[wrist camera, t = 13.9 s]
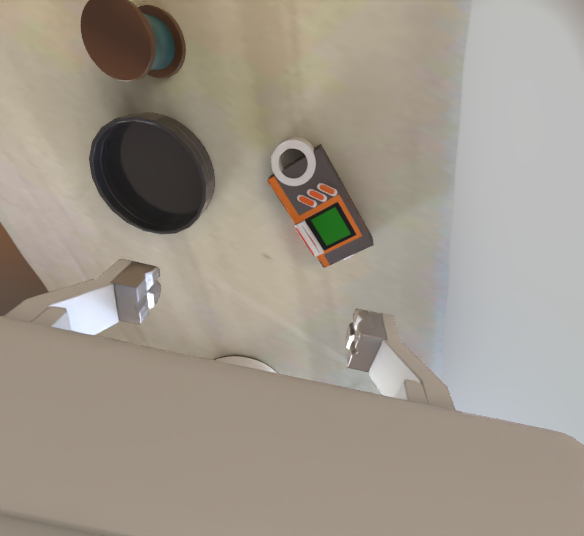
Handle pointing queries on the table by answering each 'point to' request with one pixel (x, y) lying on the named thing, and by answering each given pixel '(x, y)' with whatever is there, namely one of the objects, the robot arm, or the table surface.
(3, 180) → the table surface
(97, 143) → the pan
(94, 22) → the spool
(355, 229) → the electronic device
